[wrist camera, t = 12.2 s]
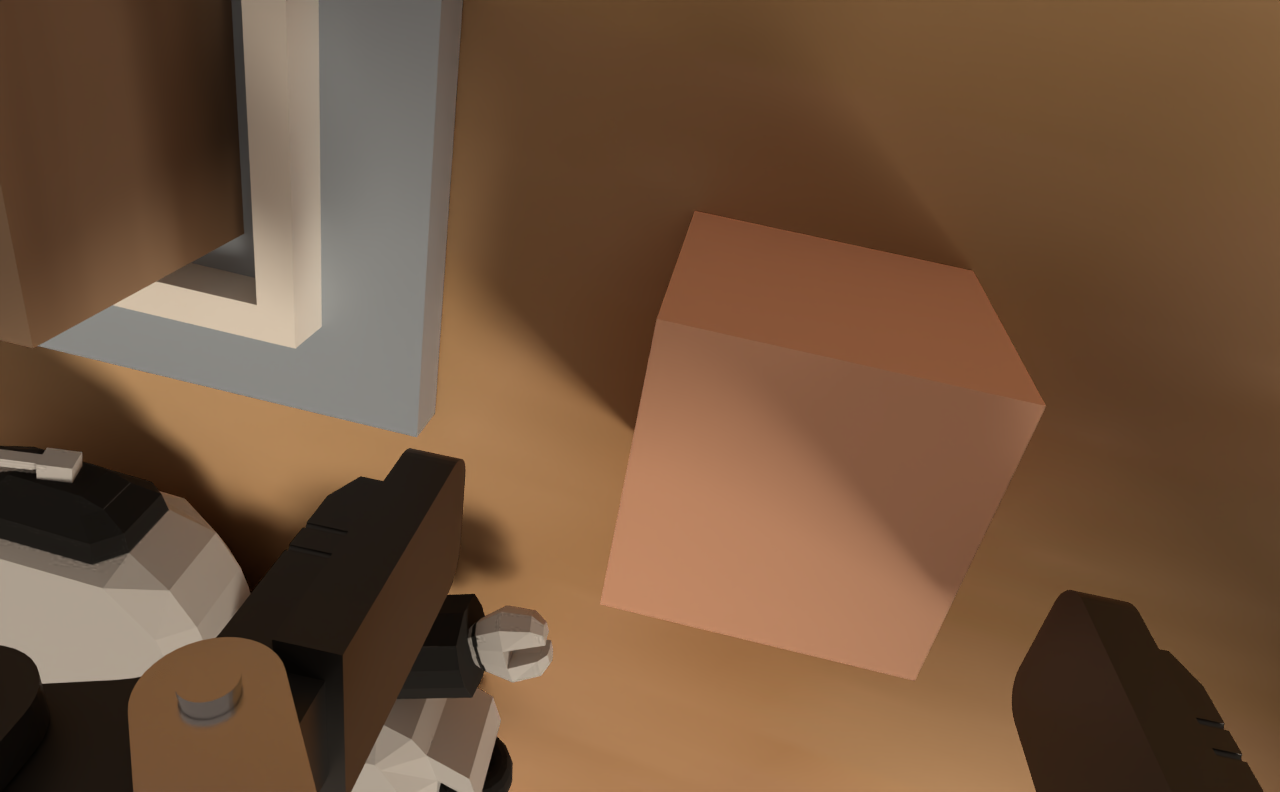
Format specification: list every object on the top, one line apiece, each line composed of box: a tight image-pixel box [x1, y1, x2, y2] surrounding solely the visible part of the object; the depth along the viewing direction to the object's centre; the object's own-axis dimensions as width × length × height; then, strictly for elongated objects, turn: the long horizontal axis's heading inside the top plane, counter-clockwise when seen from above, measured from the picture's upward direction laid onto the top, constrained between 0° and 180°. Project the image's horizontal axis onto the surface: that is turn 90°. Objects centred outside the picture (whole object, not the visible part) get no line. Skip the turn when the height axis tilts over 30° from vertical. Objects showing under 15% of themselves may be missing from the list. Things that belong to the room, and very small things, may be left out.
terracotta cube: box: [600, 211, 1046, 681], centre depth 14 cm, size 5×5×5 cm
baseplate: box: [38, 0, 463, 437], centre depth 14 cm, size 12×12×2 cm
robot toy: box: [0, 446, 553, 792], centre depth 21 cm, size 12×4×15 cm
